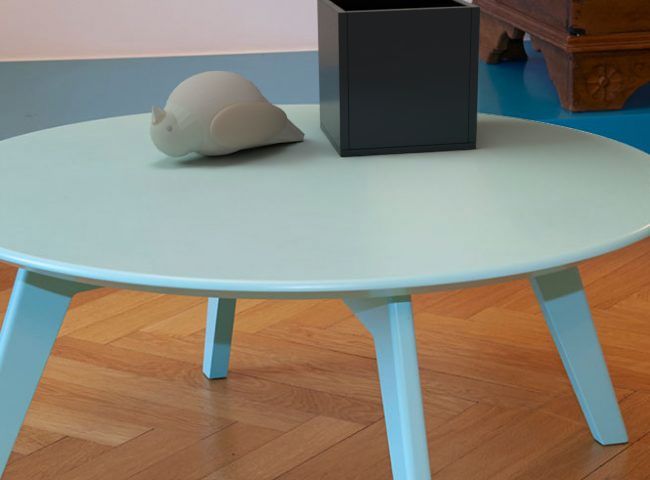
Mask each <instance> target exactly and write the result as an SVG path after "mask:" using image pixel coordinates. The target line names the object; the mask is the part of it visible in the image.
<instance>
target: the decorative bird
mask: <svg viewBox="0 0 650 480" xmlns="http://www.w3.org/2000/svg"><path fill="white" fill-rule="evenodd" d="M149 135H150V139H151V141H152V143H153V145H154V146H155V148H156V149H157V150H158V151H159V152H161V153H162V154H163V155H166V156H168V157H172V158H182V157H185V156H187V155H188V154H191V153H195V154H199V155H202V156H209V157H210V156H212V157H213V156H225V155H229V154H232V153H235V152H238V151H241V150H247V149H252V148H253V149H254V148H258V147H263V146H269V145H270V146H271V145H275V144H281V143H293V142H302V141H304V138H305V135H306V134H305V133H304V132H303V131H302V130H301V129H300V128H299V127H298V126H297V125H296V124H295V123H293V122H292V121H291V119H289V118H288V115H287V113H286V112H285V111H284V110H283V109H282V108H281V107H279V106H277V105H275V104H273V103H272V102H271V101H269V100H268V99H267V98H266V97H265V96H264V95H263V93H262V91H261V90H260V88H258V86H257V85H255V83H253V82H252V81H251V80H249V79H248V78H247V77H244V76H242V75H240V74H238V73H235V72H231V71H227V70H209V71H203V72H200V73H197V74H194V75H192V76H189V77H188V78H186V79H185V80H183V81H182V82H180V83H179V84H178V85H177V86H176V87H175V88H174V89H173V90H172V92H171V93H170V95H169V97H168V98H167V101H166V103H165V106H164V107H163V109H162V108H159V107H158V106H155V105H151V122H150V125H149Z"/></svg>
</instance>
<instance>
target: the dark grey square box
mask: <svg viewBox="0 0 650 480" xmlns="http://www.w3.org/2000/svg"><path fill="white" fill-rule="evenodd" d="M316 9H317V13H316V14H317V48H318V49H317V50H318V51H317V52H318V55H317V56H318V57H317V58H318V94H319V95H318V96H319V128H320V129H321V131H322V132H323V134H324V135H325V136H326V137H327V140H329V142H330V143H331V145H332V147H333V148H334V149H335V151H336V152H337V153H338V155H339V156H340V157H342V158H343V157H359V156H361V157H362V156H375V155H376V156H377V155H378V156H379V155H390V154H391V155H393V154H396V155H397V154H410V153H411V154H412V153H428V152H446V151H463V150H476V149H477V139H478V138H477V137H478V136H477V135H478V133H477V132H478V105H479V104H478V103H479V102H478V99H479V70H480V69H479V68H480V67H479V65H480V35H481V33H480V29H481V6H478V5H476V4H474V3H472V2H469V1H466V0H316Z"/></svg>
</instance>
